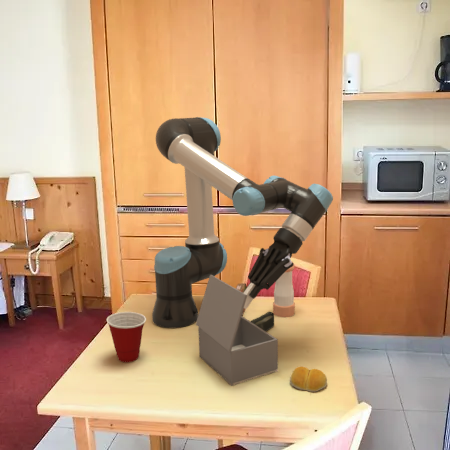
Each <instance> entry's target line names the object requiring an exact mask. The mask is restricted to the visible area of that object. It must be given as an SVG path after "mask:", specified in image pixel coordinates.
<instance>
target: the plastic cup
mask: <svg viewBox="0 0 450 450" xmlns="http://www.w3.org/2000/svg"><path fill="white" fill-rule="evenodd" d="M146 321H147V318H146V316H145V315H144V314H142V313H139V312H134V311H119V312H116V313H115V312H114V313H112V314H111V315H108V316H107V318H106V322H107V325H108V327H109V331H110V335H111V337H112V342H113V345H114V346H113V347H114V349H115V353H116V357H117V359H118V361H119V362H121V363H131V362H134V361H137V360H138V359H139V357H140V351H141V346H142V337H143V329H144V326H145V323H146Z"/></svg>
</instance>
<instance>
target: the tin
mask: <svg viewBox="0 0 450 450" xmlns="http://www.w3.org/2000/svg"><path fill="white" fill-rule="evenodd" d="M247 286H248V285H247V283H245V282H244V283H241V282H240V283H237V284H236V286H235V289H237V290H239V291H240V292H242V293H244V290H245V289H246V288H247ZM245 311H246V309H243V312H242V315H241V316H244V313H245Z"/></svg>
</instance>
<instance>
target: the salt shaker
mask: <svg viewBox="0 0 450 450" xmlns="http://www.w3.org/2000/svg"><path fill="white" fill-rule="evenodd" d="M293 264H294V265H293V266H292V267H291V268H289V269H287V270H286V271H285V272H284V273H283V274H282V276H281V277H280V278H279V279H278V280H277V281H276V282H275V283H274V290H273V291H274V292H273V302H272V312H273V313H274V316H276V317H281V318H289V317H293V316H294V315H295V314H296V313H295V312H296V311H295V310H296V308H295V307H296V306H295V305H296V304H295V302H294V301H295V299H294V298H295V297H294V296H295V291H294V286H293V271H294V269H295V266H296V265H295V263H294V262H293Z"/></svg>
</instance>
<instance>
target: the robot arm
mask: <svg viewBox="0 0 450 450" xmlns="http://www.w3.org/2000/svg"><path fill="white" fill-rule="evenodd" d="M221 141H222V138H221V130H220V129H219V127H218V125H217V124H216V123H215V122H214V121H213V119H210V118H208V117H198V116H197V117H181V118H169V119H167V120H166V121H164V122H163V123H162V124H161V125H160V126H159V127H158V128H157V131H156V134H155V144H156V148H157V150H158V152H159V153H160V154H161V155H162V156H163V157H164V158H165V159H166V160H168V161H169V162H171V163H172V164H175V165H177V164H178V165H179V164H180V165H181V166H182V167H184V178H185V182H184V183H185V193H186V210H187V223H188V237H187V238H186V239H185V241H184V244H185V245H184V246H181V245H176V246H170V247H169V246H168V247H166V248H164V249H161V250H159V251H158V252H157V253H156V254H155V256H154V266H153V269H154V274H155V275H154V278H155V292H156V293H155V294H156V298H155V302H154V307H153V309H152V313H151V314H152V315H151V318H152V324H154V325H156V327H161V328H167V329H177V328H178V329H179V328H184V327H187V326H191V325H193V324H194V323H195V324H196V322H197V318H198V315H199V311H198V307H197V305H196V302H195V300H194V297H193V289H192V288H193V285H194V284H196V283H199V282H200V281H204V280H207V279H209V277H210V275H213V276H214V277H216V276H217V275H219V274H221V273H222V272H223V271H224V270H225V268H226V267H227V263H228V253H227V250H226V248H225V247H224V245H223V244H222V243H221V242H220V238H219V237H218V236H217V235H216V234H215V221H214V208H213V207H214V205H213V204H214V203H213V189H212V188H214V189H215V190H217V191H219V192H220V193H221V194H223V195H224V196H226V198H228V199H230V200H231V201H232V206H233V209H235V211H236V212H237V214H238V215H240V216H243V217H244V216H245V217H248V216H256V215H259V214H262V213H265V212H269V211H273V210H277V209H285V210H287V211H289V212H290V213H289V214H288V216H287V218H286V219H285V221H283V223H282V224H281V227H280V228H279V229H278V230H277V232H276V233H275V234H274V235H273V243H272V244H270V245H269V247H268V248H264V247H262V248H260V250H259V253H258V256H257V258H256V260H255V262H254V264H253V266H252V268H251V269H250V272H249V274H248V275H247V279H249V284H248V285H246V286H247V288H246V289H245V290H244V294H246V295H247V298H246V302H245V305H244V309H245V310H247V309H248V308H249V306H250V305H251V303H252V301H254V300H255V299H256V298H257V297H258V295H259V293H260V292H261V291H262V290H269V289H270V288H271V287H272V286H273V285H275V283H276V281H277V280H278V279H279V278H280V277H281V276H282V274H283V273H284V272H285V271H286V270H287V269H289V268H291V267H292V266H293V265H295V263H294V262H293V261H292V260H291V258H292V256H293V254H294V255H296V254H297V253H298V252H299V250H300V249H301V248H302V246H303V242H305V241H307V239H308V237H309V236H310V234H311V233H312V231H313V230H314V228H315V227H316V226H317V225H318V223H319V222H320V220H321V219H322V217H323V216H324V214H325V213H326V212H327V211H328V209H329V207H330V206H331V204H332V203H333V200H334V196H333V195H332V193H331V192H330V190H329V189H328V188H326V187H325V186H323V185H321V184H319V183H312V184H310V185H309V186H308V188H306V187H303V186H300V185H298V184H296V183H295V182H292V181H290V180H287V179H286V178H284V177H280V176H278V175H271V176H269V177H268V178H266V179H265V180H264V182H263V183H261V184H258V183H256V182H255V181H253V180H251V179H250V178H249V177H247V176H245V175H243V174H242V173H240V172H239V171H238V170H236V169H235V168H233V167H231V166H230V165H229V164H227V163H226V162H224V161H222V160H221V159H220V158H218V157H217V156H215V152H217V150H219V146H221ZM293 263H294V264H293Z"/></svg>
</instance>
